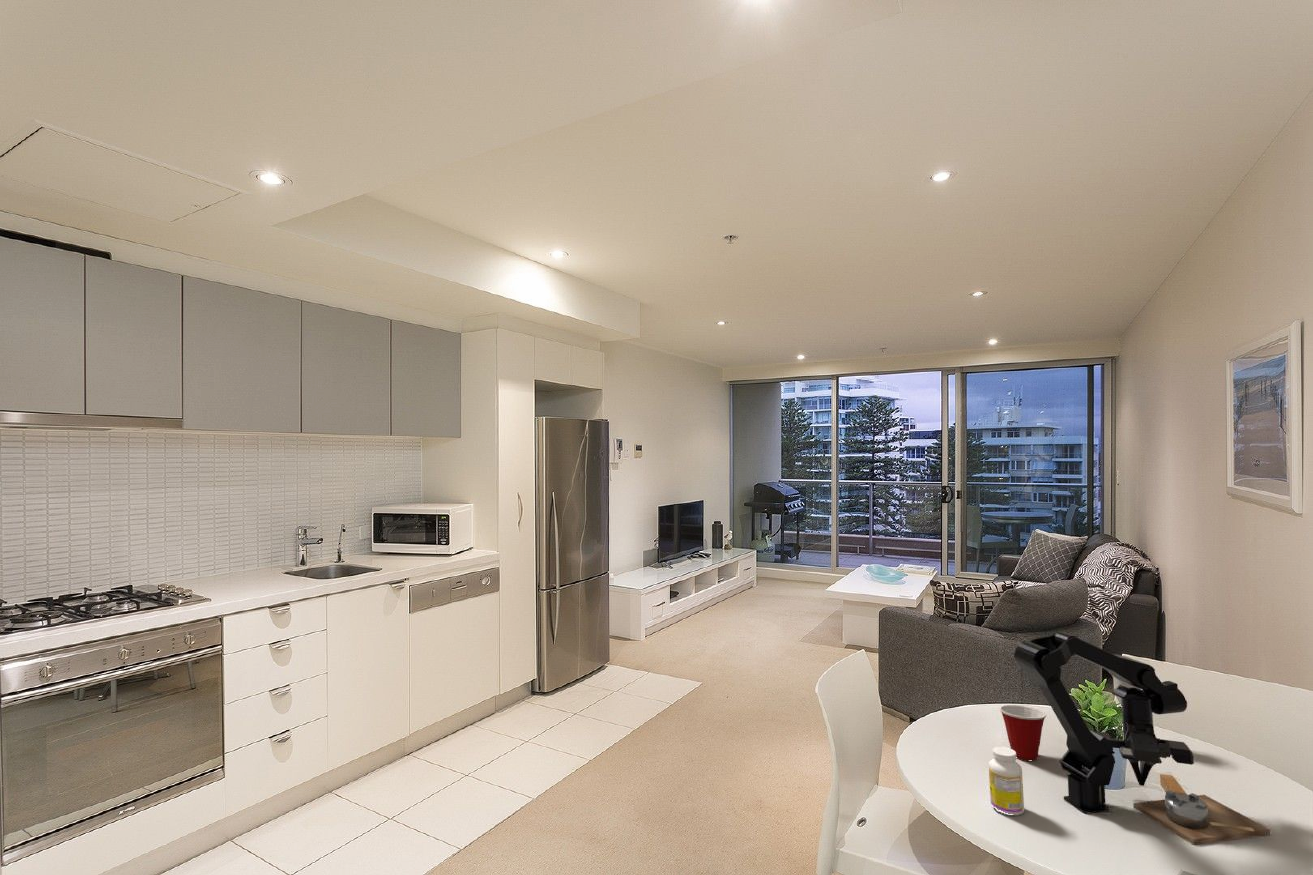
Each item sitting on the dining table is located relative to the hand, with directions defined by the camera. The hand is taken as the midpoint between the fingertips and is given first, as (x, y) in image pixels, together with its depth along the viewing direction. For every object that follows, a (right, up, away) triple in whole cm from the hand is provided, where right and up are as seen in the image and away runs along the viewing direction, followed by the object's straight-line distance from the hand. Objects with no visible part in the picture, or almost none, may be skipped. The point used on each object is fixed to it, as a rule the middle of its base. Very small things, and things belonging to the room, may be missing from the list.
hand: (1141, 784), depth 149 cm
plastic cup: (-14, -4, +22) cm, 27 cm away
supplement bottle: (-32, -4, -3) cm, 32 cm away
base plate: (+5, -3, -9) cm, 11 cm away
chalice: (+18, -4, +28) cm, 33 cm away
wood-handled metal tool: (+3, -1, -7) cm, 8 cm away
